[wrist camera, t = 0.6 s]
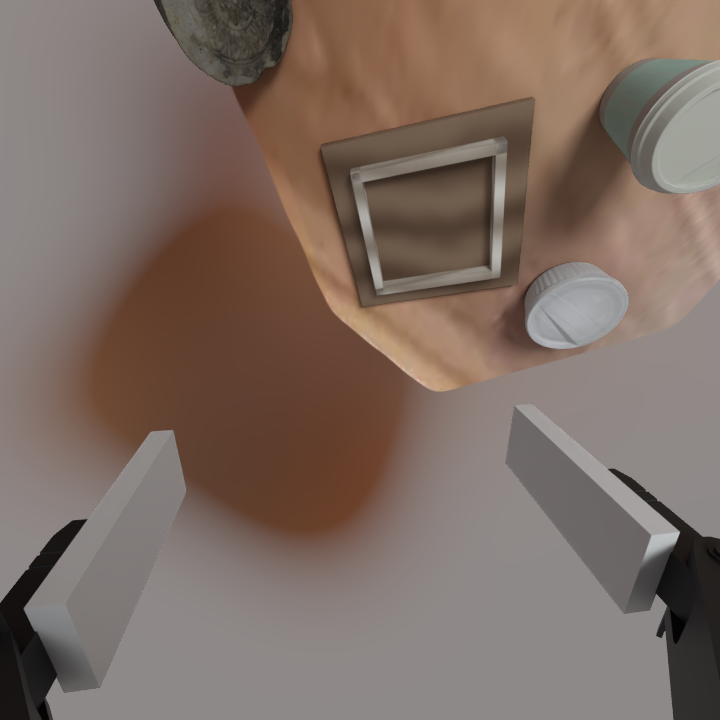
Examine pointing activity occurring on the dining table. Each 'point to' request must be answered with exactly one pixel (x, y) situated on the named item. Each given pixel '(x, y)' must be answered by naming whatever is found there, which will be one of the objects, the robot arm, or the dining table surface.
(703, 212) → the dining table surface
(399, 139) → the locating board
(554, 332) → the ramekin
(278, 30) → the fossil
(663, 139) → the coffee cup
